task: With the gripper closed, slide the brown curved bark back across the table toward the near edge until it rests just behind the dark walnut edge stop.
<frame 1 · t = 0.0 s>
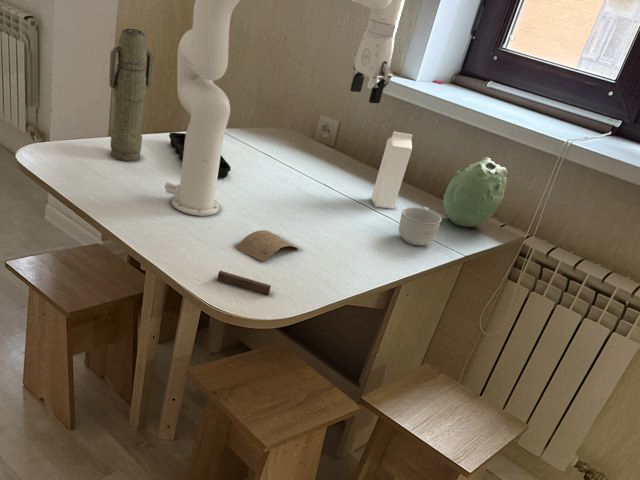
hand: (364, 97, 184), 31 cm above the table, tool pointing down, fingers open, 9 cm apart
milk: (382, 204, 208), on the table
edge stop: (243, 286, 151), on the table
brown curved bark: (268, 249, 169), on the table
egg carton: (197, 161, 211), on the table
thermos: (125, 156, 203), on the table
green vase: (462, 225, 206), on the table
teacup: (415, 239, 190), on the table
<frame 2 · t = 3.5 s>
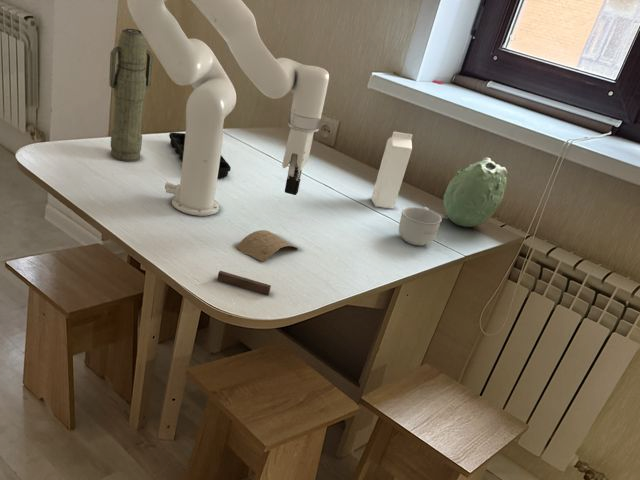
hand: (291, 192, 174), 10 cm above the table, tool pointing down, fingers closed
nothing on the table moved.
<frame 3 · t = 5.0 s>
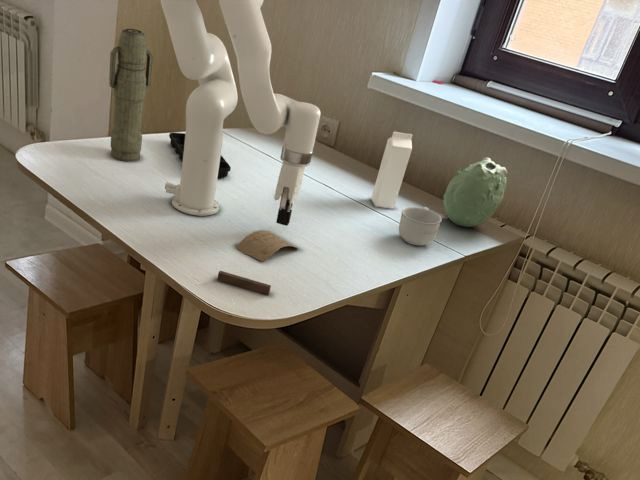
hand: (282, 223, 178), 2 cm above the table, tool pointing down, fingers closed
nothing on the table moved.
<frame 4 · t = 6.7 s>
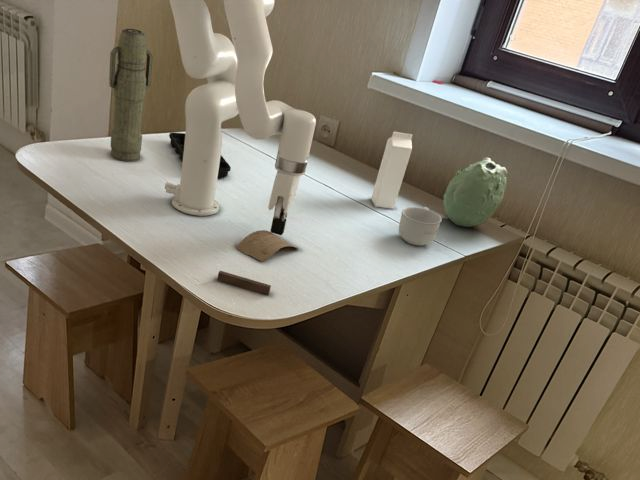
hand: (276, 232, 174), 1 cm above the table, tool pointing down, fingers closed
brown curved bark: (268, 249, 169), on the table, touching gripper
everything else where it was.
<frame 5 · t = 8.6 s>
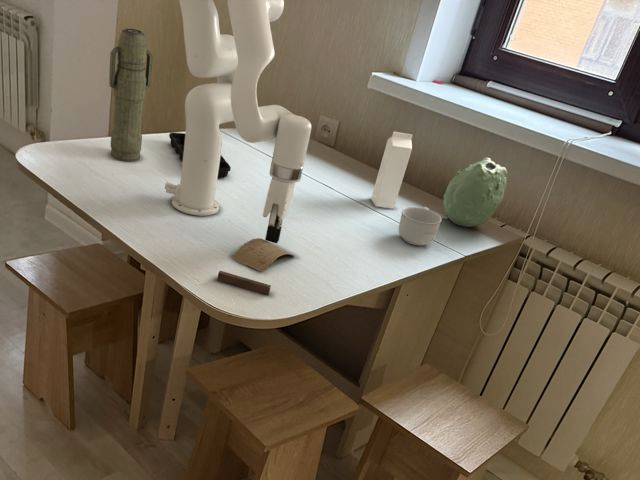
hand: (271, 240, 170), 1 cm above the table, tool pointing down, fingers closed
brown curved bark: (264, 258, 165), on the table, touching gripper
everything else where it was.
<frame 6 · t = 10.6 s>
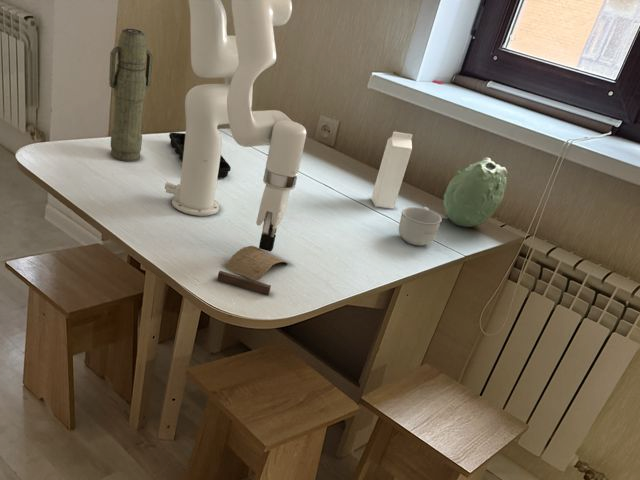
hand: (265, 248, 166), 1 cm above the table, tool pointing down, fingers closed
brown curved bark: (257, 266, 161), on the table, touching gripper
everything else where it was.
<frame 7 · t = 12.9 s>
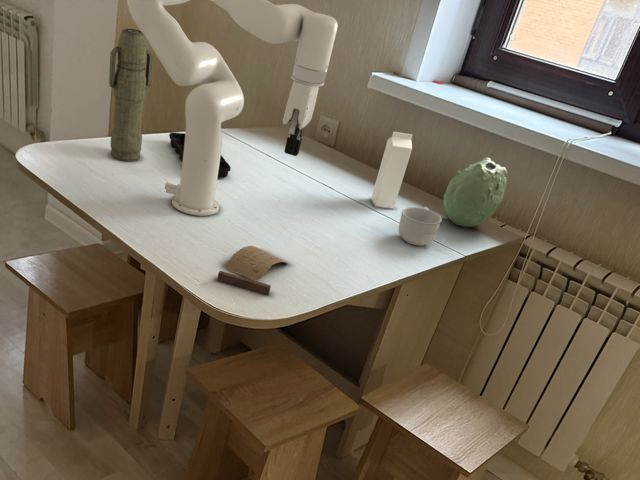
hand: (291, 153, 162), 22 cm above the table, tool pointing down, fingers closed
brown curved bark: (257, 266, 161), on the table
everything else where it was.
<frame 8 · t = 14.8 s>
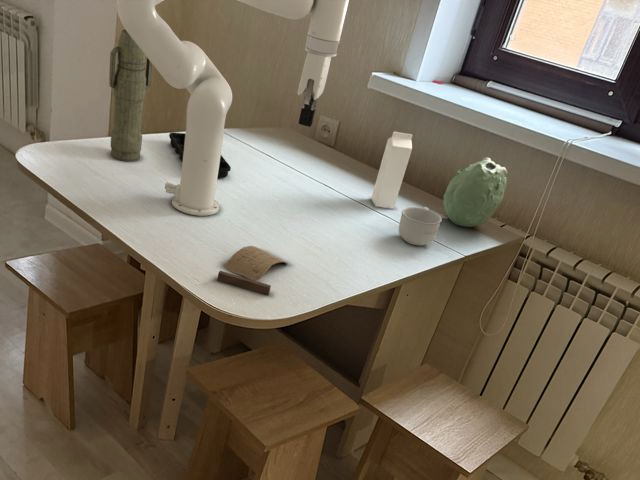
hand: (305, 124, 167), 27 cm above the table, tool pointing down, fingers closed
nothing on the table moved.
at the end: brown curved bark inside the target area (3.1 cm from its centre), on the table; brown curved bark moved 10.4 cm from its start; brown curved bark tilted 0° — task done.
